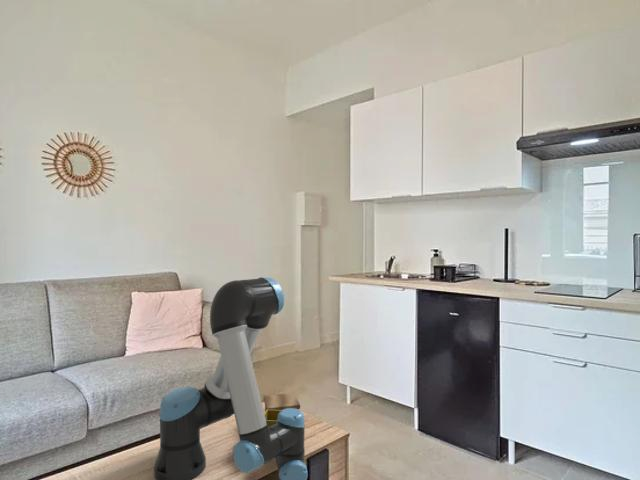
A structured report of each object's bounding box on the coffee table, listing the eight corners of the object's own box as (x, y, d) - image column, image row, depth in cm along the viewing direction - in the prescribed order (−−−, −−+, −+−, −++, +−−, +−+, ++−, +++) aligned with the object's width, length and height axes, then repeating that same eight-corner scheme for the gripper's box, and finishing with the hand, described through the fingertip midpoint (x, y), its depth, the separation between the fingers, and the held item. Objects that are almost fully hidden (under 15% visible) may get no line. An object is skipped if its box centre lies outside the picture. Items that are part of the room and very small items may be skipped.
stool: (267, 435, 147) (267, 408, 147) (263, 421, 159) (263, 396, 159) (300, 431, 150) (300, 404, 150) (293, 417, 162) (293, 392, 162)
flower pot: (290, 435, 146) (290, 410, 146) (286, 447, 137) (286, 421, 137) (266, 434, 147) (266, 409, 147) (260, 446, 138) (260, 420, 138)
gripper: (246, 467, 122) (241, 432, 143) (321, 456, 128) (305, 425, 149) (246, 442, 121) (241, 411, 143) (321, 432, 127) (305, 404, 149)
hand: (274, 418), depth 146 cm, fingers closed on flower pot, 11 cm apart
